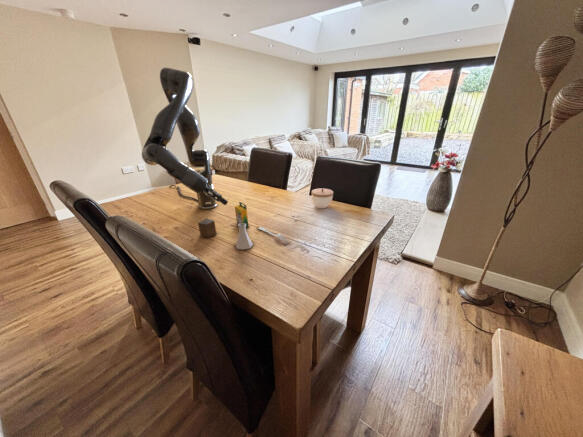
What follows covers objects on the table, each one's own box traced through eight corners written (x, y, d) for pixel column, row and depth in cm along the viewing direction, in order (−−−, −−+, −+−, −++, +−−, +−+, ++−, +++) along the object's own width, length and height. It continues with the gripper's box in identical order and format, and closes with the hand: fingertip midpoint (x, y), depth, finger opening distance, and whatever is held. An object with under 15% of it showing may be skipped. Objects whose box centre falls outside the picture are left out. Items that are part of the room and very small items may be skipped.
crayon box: (236, 223, 119) (233, 202, 115) (241, 222, 121) (239, 201, 116) (243, 228, 114) (241, 206, 109) (248, 227, 116) (246, 205, 111)
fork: (262, 231, 117) (261, 226, 116) (290, 242, 102) (289, 237, 101) (257, 233, 115) (256, 228, 114) (285, 245, 100) (284, 239, 99)
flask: (236, 241, 103) (234, 221, 99) (253, 240, 104) (251, 220, 99) (234, 250, 97) (231, 229, 92) (252, 249, 97) (250, 228, 93)
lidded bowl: (308, 208, 137) (308, 190, 132) (314, 201, 147) (315, 184, 143) (329, 211, 132) (330, 192, 128) (334, 203, 143) (335, 186, 138)
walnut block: (200, 236, 108) (197, 222, 105) (208, 231, 112) (206, 218, 109) (208, 238, 106) (205, 224, 103) (216, 233, 110) (214, 220, 107)
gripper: (202, 176, 92) (233, 198, 102) (195, 169, 103) (224, 190, 113) (190, 191, 92) (223, 212, 102) (184, 183, 103) (214, 202, 113)
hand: (223, 200), depth 108 cm, fingers open, 8 cm apart
